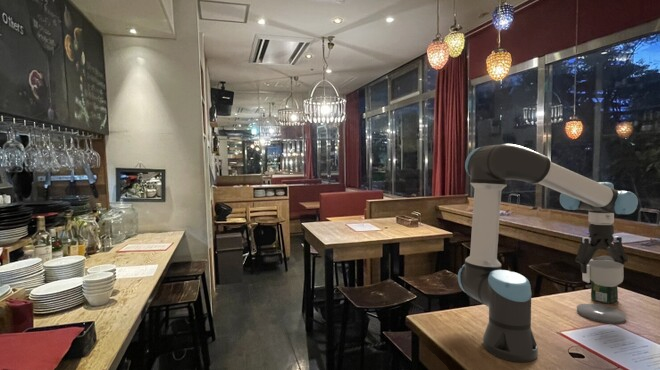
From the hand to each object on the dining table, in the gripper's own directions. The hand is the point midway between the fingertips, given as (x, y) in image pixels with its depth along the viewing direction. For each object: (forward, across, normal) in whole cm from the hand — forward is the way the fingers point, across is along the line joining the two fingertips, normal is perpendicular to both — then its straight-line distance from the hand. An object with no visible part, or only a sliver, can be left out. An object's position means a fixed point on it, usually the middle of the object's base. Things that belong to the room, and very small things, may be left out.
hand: (601, 281), depth 129 cm
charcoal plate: (+13, 0, 0) cm, 13 cm away
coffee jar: (+13, +13, +14) cm, 23 cm away
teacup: (+1, 0, 0) cm, 1 cm away
